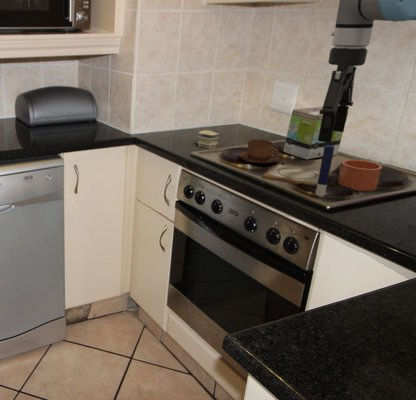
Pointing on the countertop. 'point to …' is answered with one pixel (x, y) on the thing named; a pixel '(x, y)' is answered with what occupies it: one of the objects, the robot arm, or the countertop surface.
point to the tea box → (308, 134)
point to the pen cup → (359, 175)
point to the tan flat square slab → (292, 175)
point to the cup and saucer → (260, 152)
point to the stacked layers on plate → (207, 139)
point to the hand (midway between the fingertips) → (331, 136)
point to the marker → (324, 170)
